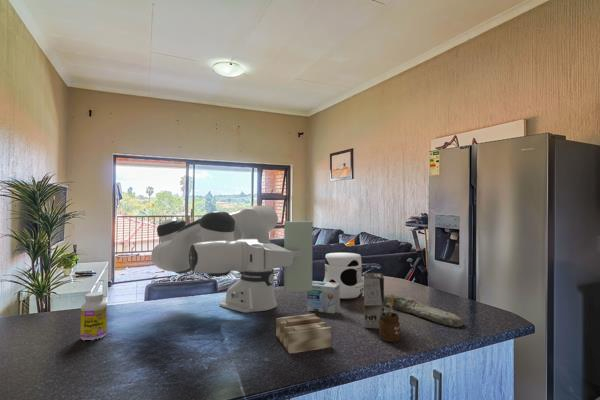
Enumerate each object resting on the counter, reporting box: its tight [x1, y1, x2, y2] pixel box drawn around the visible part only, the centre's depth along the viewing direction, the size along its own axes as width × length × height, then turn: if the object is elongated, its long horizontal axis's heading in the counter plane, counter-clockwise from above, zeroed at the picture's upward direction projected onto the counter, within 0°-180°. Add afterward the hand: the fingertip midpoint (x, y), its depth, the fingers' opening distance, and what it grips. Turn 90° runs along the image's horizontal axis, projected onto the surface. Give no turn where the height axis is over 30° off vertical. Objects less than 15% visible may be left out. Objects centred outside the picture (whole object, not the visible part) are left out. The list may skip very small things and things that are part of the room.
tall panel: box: [283, 220, 314, 293], centre depth 98 cm, size 8×2×20 cm, turn 110°
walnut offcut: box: [286, 315, 320, 327], centre depth 94 cm, size 9×2×6 cm, turn 110°
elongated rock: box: [384, 293, 464, 328], centre depth 123 cm, size 35×5×10 cm
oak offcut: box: [294, 325, 321, 331], centre depth 90 cm, size 7×2×5 cm, turn 110°
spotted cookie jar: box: [322, 252, 364, 301], centre depth 143 cm, size 17×17×18 cm
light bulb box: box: [306, 280, 341, 314], centre depth 122 cm, size 11×7×11 cm, turn 68°
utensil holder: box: [378, 294, 401, 343], centre depth 99 cm, size 6×6×12 cm
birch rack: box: [275, 313, 333, 354], centre depth 94 cm, size 12×13×6 cm
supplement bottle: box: [80, 291, 108, 341], centre depth 100 cm, size 7×7×13 cm
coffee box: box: [363, 272, 385, 330], centre depth 112 cm, size 9×6×16 cm
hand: (298, 252), depth 98 cm, fingers closed on tall panel, 2 cm apart
